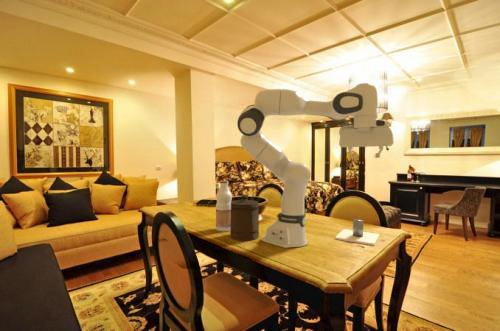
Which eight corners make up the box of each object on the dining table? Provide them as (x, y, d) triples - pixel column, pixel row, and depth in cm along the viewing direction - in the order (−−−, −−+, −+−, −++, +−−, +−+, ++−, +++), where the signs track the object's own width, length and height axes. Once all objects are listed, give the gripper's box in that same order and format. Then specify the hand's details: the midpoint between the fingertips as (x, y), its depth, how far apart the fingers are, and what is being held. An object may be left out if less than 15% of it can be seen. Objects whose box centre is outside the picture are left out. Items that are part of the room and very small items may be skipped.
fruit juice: (221, 232, 138) (221, 182, 137) (212, 229, 145) (212, 180, 144) (235, 229, 144) (235, 181, 143) (226, 226, 151) (226, 180, 150)
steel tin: (352, 235, 129) (352, 220, 129) (353, 233, 133) (353, 218, 133) (362, 237, 126) (362, 221, 126) (363, 235, 131) (364, 219, 131)
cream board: (335, 239, 127) (335, 237, 127) (343, 230, 142) (343, 229, 142) (374, 245, 117) (374, 243, 117) (379, 236, 132) (379, 234, 132)
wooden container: (247, 230, 142) (247, 192, 141) (264, 237, 130) (264, 195, 130) (225, 235, 133) (225, 194, 133) (240, 242, 121) (240, 197, 121)
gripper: (337, 125, 106) (337, 157, 106) (392, 121, 95) (392, 157, 95) (341, 126, 111) (340, 157, 112) (394, 123, 100) (393, 157, 100)
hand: (365, 157), depth 103 cm, fingers open, 8 cm apart
